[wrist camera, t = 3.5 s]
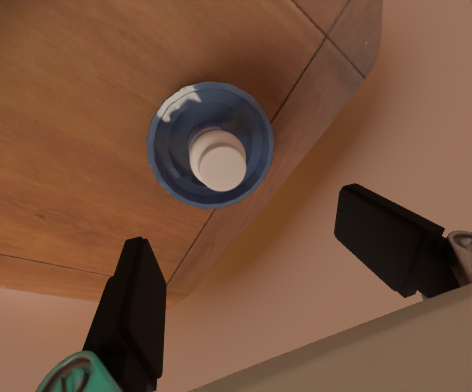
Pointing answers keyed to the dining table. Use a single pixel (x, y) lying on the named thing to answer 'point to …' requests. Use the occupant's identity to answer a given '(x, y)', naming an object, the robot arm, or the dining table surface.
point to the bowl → (200, 111)
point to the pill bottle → (216, 156)
